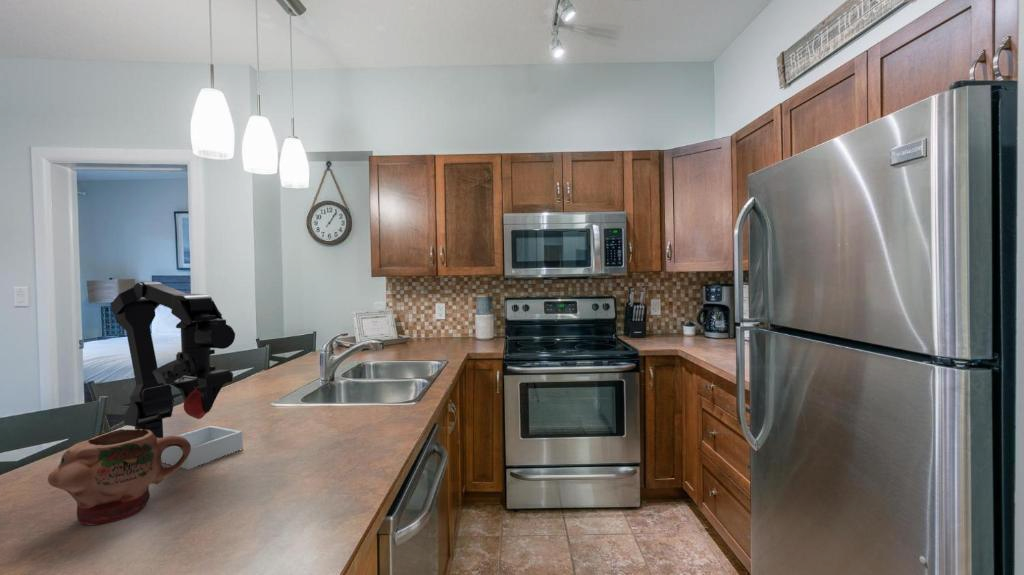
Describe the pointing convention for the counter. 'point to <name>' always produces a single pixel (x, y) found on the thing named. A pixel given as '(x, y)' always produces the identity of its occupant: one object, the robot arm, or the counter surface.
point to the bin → (205, 446)
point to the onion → (194, 405)
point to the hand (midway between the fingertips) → (198, 410)
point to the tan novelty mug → (115, 473)
